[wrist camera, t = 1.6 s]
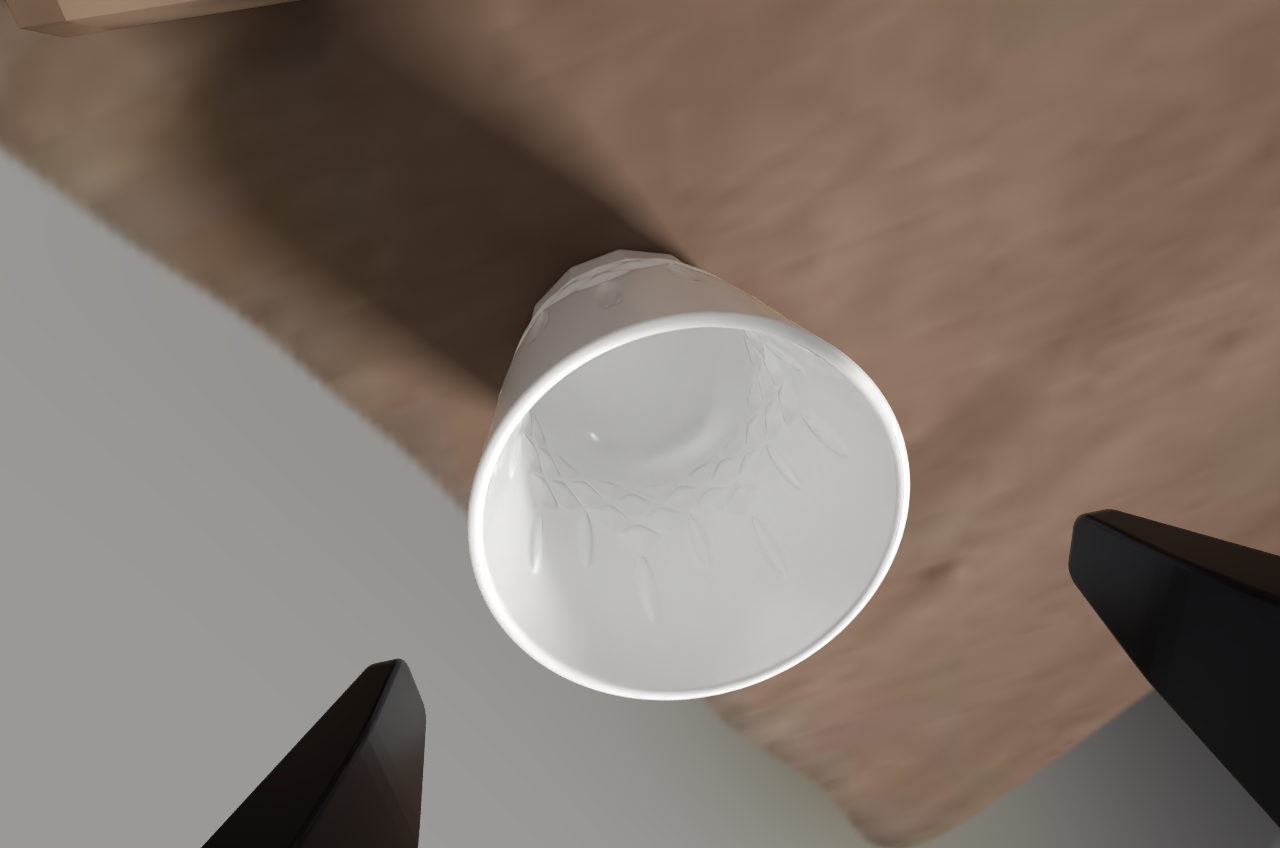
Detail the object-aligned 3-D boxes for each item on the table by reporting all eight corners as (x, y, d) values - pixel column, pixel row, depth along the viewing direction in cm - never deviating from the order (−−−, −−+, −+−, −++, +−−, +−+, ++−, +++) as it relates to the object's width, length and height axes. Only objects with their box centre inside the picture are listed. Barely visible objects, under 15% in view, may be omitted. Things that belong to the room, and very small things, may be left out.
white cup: (758, 450, 23) (899, 664, 14) (527, 487, 22) (513, 733, 13) (749, 211, 19) (927, 281, 10) (478, 246, 19) (415, 351, 10)
